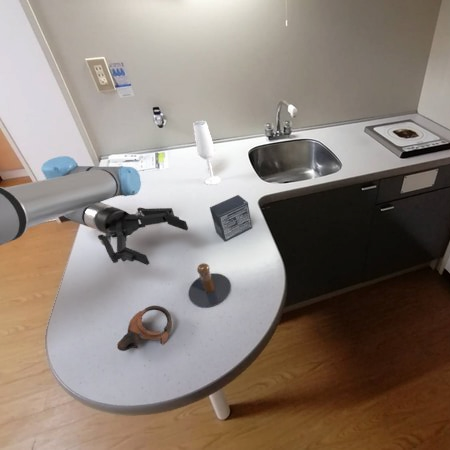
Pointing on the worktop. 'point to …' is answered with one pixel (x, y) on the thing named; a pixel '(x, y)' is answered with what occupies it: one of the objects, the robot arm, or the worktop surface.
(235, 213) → the small box
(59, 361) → the worktop surface
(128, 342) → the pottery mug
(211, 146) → the champagne flute
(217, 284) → the lid
